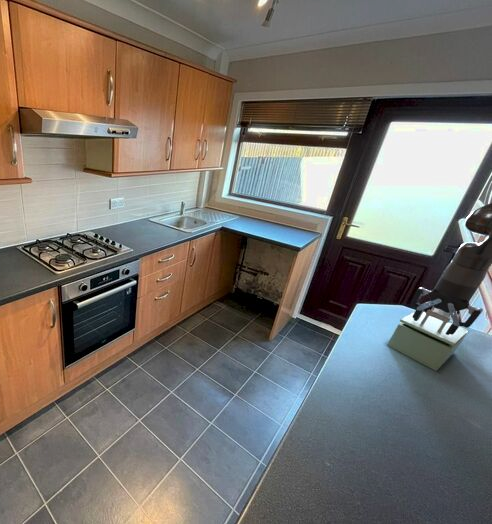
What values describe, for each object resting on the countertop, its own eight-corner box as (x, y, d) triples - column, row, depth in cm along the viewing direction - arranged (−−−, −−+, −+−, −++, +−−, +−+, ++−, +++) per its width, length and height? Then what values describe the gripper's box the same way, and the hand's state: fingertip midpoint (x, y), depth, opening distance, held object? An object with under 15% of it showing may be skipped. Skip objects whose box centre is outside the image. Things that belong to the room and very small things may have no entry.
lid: (453, 345, 79) (465, 328, 77) (399, 321, 89) (408, 305, 87) (467, 332, 88) (478, 317, 86) (417, 311, 98) (425, 297, 95)
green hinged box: (435, 371, 84) (451, 348, 80) (386, 345, 94) (398, 324, 90) (452, 354, 92) (467, 333, 88) (405, 331, 101) (417, 311, 98)
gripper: (501, 288, 75) (467, 337, 82) (432, 266, 86) (407, 311, 93) (494, 294, 71) (459, 345, 79) (422, 271, 82) (397, 317, 90)
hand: (431, 326), depth 86 cm, fingers open, 7 cm apart
